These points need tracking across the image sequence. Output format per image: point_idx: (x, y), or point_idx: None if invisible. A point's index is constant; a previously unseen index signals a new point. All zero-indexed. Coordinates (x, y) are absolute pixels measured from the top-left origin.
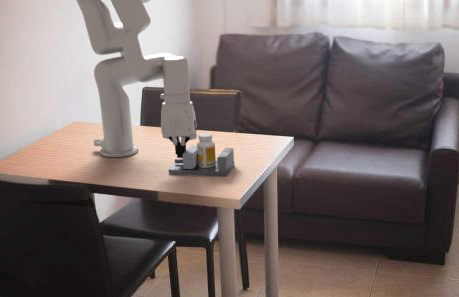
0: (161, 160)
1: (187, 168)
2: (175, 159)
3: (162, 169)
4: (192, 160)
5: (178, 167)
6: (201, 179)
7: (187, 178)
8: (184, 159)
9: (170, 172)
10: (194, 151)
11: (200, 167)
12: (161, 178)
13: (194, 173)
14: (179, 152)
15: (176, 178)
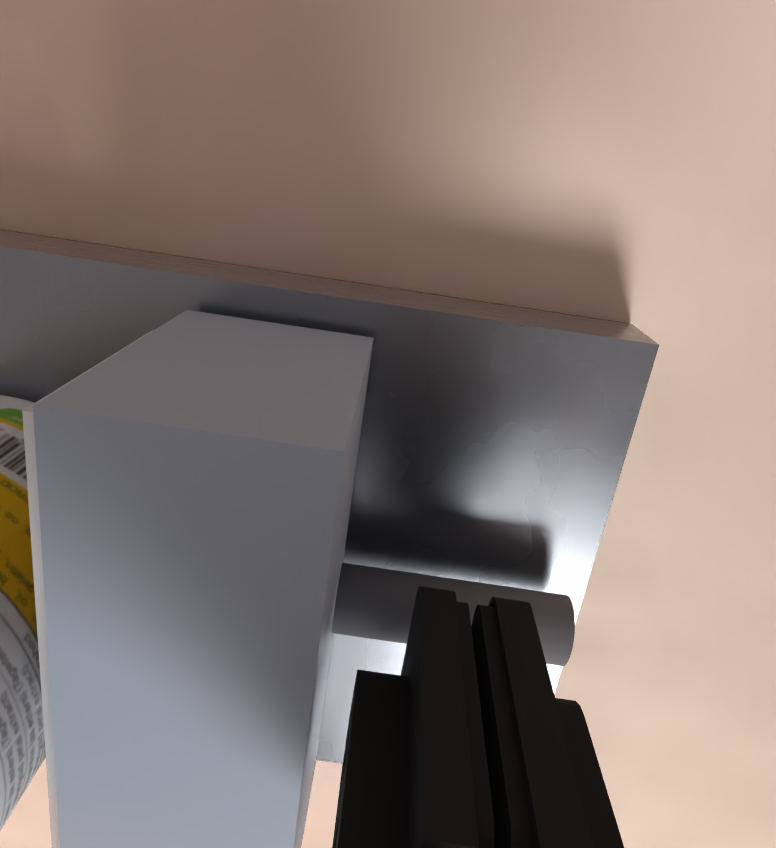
0: (759, 841)
1: (291, 327)
2: (564, 644)
3: (742, 537)
4: (115, 361)
5: (483, 444)
6: (10, 38)
7: (274, 97)
8: (312, 387)
9: (608, 325)
10: (65, 666)
11: None
12: (755, 97)
13: (178, 263)
14: (483, 701)
15: (474, 97)
